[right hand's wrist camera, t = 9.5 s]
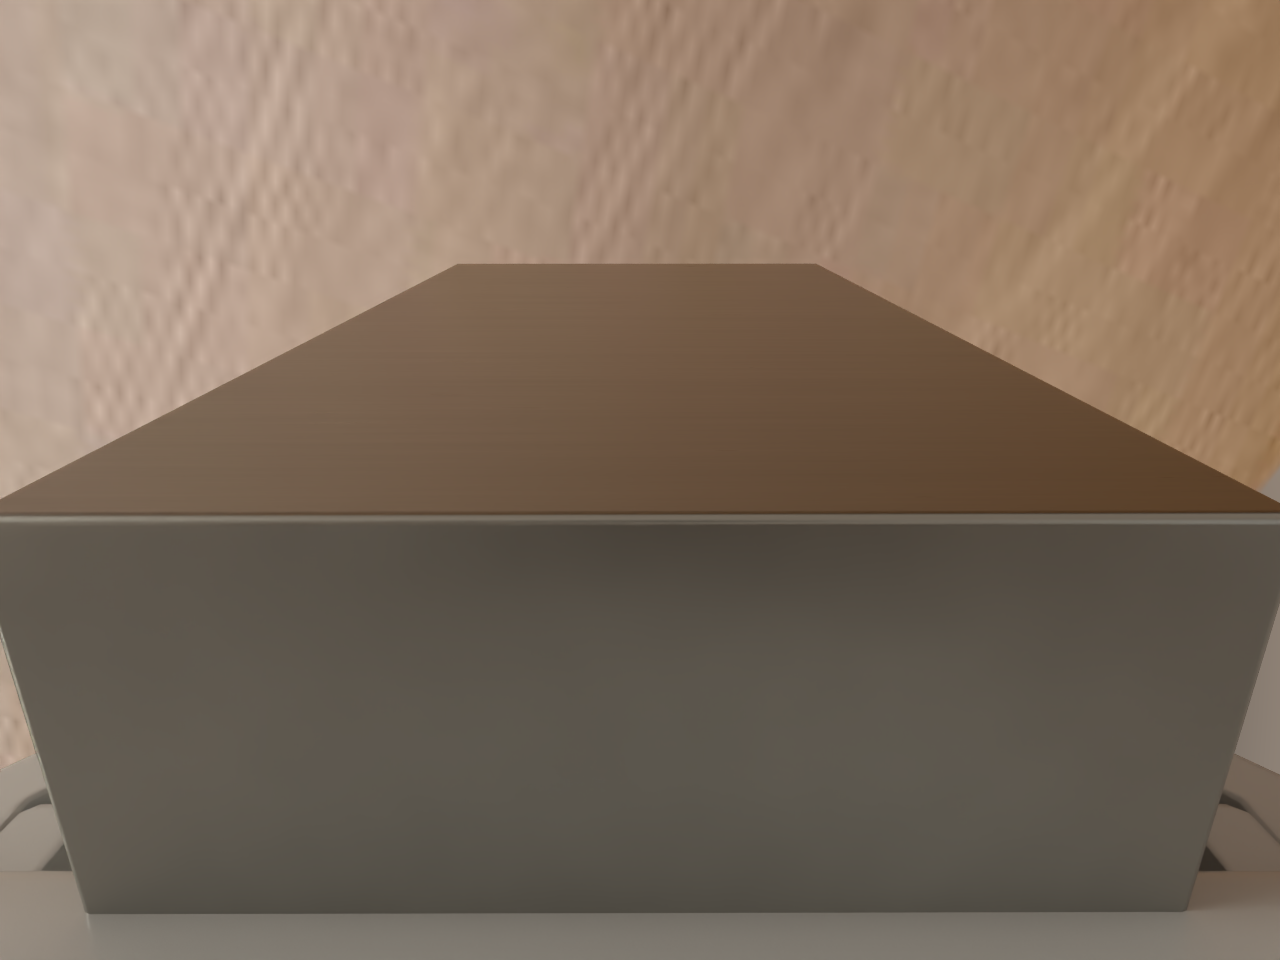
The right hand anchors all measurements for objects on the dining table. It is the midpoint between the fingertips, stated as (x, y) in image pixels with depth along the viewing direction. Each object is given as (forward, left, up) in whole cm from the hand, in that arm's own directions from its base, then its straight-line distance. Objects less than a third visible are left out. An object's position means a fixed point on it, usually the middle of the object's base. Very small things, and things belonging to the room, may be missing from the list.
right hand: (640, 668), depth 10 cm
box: (+8, 0, -6) cm, 11 cm away
